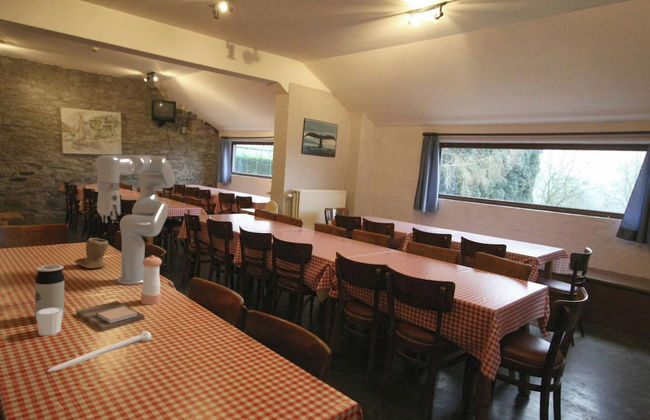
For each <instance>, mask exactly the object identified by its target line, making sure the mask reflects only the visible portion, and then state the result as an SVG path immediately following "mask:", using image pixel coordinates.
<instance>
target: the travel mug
mask: <svg viewBox="0 0 650 420" xmlns="http://www.w3.org/2000/svg"><path fill="white" fill-rule="evenodd" d="M63 269H64V265H61V264H46V265H41V266H38V267H36V271H37V275H36V276H35V278H34V280H35V283H34V284H35V286H34V289H35V290H34V291H35V292H34V293H35V294H34V297H35V299H34V300H35V301H34V305H35V307H34V309H35V310H34V312H35V313H34V314H35V316H34V318H35V319H34V320H35V321H37V317H36V312H37V311H39V310H41V309H45V308H51V307H59V308H62V309H63V313H62V318H63V317H64V316H65V274H64V273H63Z"/></svg>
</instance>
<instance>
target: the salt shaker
mask: <svg viewBox="0 0 650 420" xmlns="http://www.w3.org/2000/svg"><path fill="white" fill-rule="evenodd" d="M162 263H163V261H162V258H160V257H158V256H155V255H150V256H148V257H144V260H143V265H144V280H143V283H142V290H141V291H142V292H141V293H140V303H141V304H142V305H155V304H159V303H160V302H161V300H162V296H161V295H162V292H161V279H160V266H161V264H162Z"/></svg>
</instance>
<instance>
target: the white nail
mask: <svg viewBox="0 0 650 420" xmlns="http://www.w3.org/2000/svg"><path fill="white" fill-rule="evenodd" d="M151 339H152V334H151V332H150V331H147V330H145V331H142V332H141V333H140V334H138V335H136V336H132V337H130V338H127V339H125V340H122V341H119V342H116V343H113V344H111V345H108V346H104V347H101V348H99V349H96V350H93V351H91V352H89V353H86V354H83V355H81V356H78V357H75V358H73V359H70V360H68V361H65V362H63V363H61V364H58V365H55V366H52V367H50V368H49V369H48V370H47V371H46V372H47V373H52V371H53V372H56V371H59V370H62V369H66V368H68V367H71V366H75V365H77V364H80V363H83V362H85V361H87V360H91V359H93V358H95V357H99V356H100V355H103V354H106V353H108V352H112V351H115V350H117V349H119V348H123V347H126V346H128V345H131V344H132V345H133V344H135V343H137V342H147V341H150V340H151Z"/></svg>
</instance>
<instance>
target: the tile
mask: <svg viewBox="0 0 650 420" xmlns="http://www.w3.org/2000/svg"><path fill="white" fill-rule="evenodd" d="M137 312H138V311H137ZM137 312H134V311H132V310H130V309H128V308H126V307H124V306H122V307H118V308H114V309H110V310H106V311H102V312H98V313H96V316H98V317H99V318H101V319H103V320H105V321H107V322H109V323H113V322H117V321H121V320H124V319H128V318H131V317H135V316H137Z"/></svg>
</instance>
